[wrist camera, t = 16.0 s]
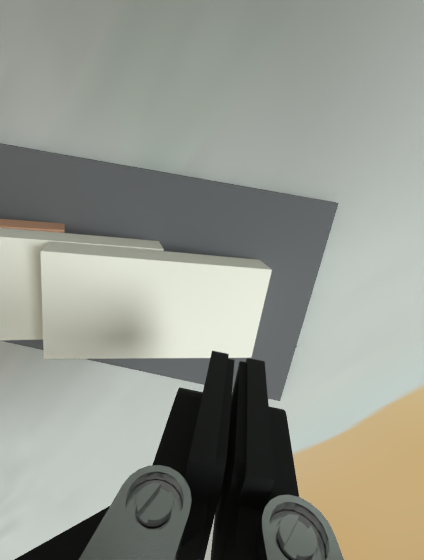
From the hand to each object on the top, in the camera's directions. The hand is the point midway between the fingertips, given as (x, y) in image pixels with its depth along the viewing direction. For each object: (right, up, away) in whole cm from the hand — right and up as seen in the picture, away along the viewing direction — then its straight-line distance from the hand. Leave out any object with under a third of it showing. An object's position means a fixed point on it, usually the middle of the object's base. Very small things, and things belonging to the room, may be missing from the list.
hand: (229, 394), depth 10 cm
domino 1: (+2, +2, +7) cm, 7 cm away
